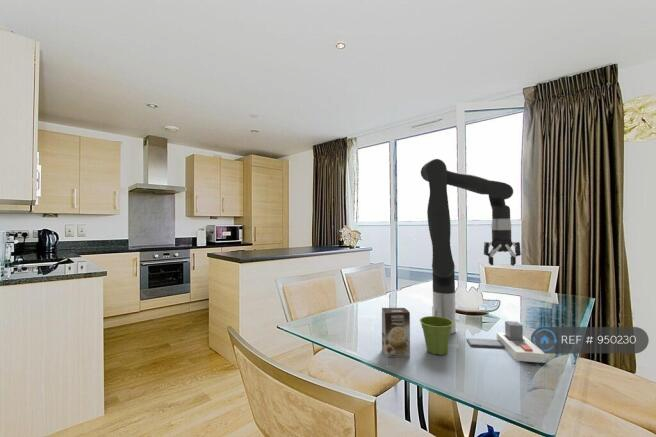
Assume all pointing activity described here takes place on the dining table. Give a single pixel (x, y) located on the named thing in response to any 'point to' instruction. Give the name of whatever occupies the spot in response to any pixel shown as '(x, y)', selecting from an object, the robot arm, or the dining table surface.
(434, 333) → the plant pot
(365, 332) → the dining table surface
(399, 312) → the coffee box
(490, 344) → the phone
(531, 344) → the power strip
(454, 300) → the robot arm
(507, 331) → the block
